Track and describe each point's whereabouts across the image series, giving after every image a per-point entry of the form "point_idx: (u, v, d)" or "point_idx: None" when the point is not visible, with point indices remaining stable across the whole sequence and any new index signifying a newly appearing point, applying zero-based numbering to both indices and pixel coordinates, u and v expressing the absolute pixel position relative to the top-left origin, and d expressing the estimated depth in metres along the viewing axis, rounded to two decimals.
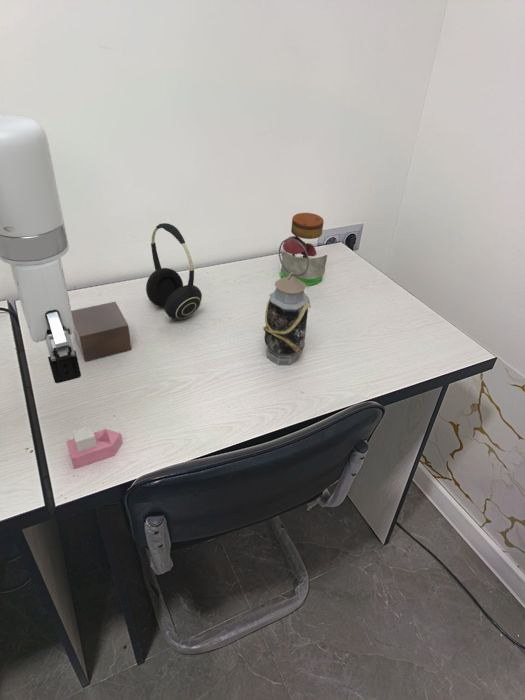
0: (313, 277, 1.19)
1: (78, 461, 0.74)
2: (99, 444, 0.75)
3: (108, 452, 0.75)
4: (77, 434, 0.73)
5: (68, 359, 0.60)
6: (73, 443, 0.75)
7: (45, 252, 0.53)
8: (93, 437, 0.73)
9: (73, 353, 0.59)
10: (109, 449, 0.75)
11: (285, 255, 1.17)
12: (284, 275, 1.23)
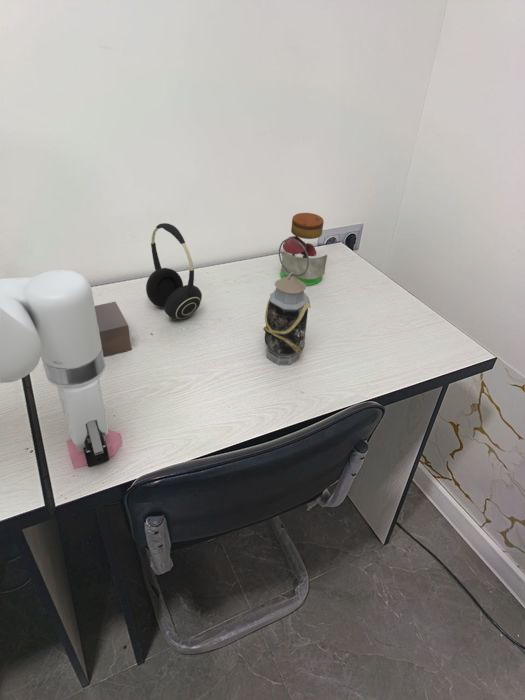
0: (313, 277, 1.19)
1: (78, 461, 0.74)
2: None
3: (108, 452, 0.75)
4: None
5: None
6: (73, 443, 0.75)
7: (87, 376, 0.63)
8: None
9: (104, 445, 0.72)
10: (109, 449, 0.75)
11: (285, 255, 1.17)
12: (284, 275, 1.23)
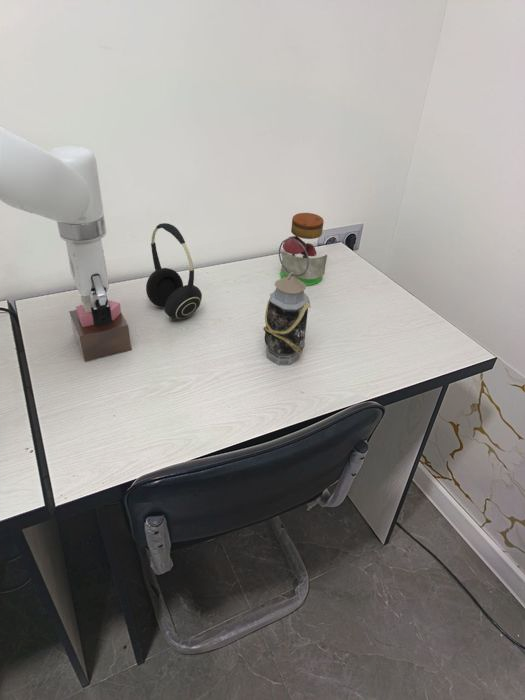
0: (313, 277, 1.19)
1: (85, 320, 0.91)
2: None
3: None
4: (84, 298, 0.91)
5: (104, 309, 0.87)
6: (81, 307, 0.93)
7: (92, 234, 0.81)
8: None
9: (108, 304, 0.87)
10: None
11: (285, 255, 1.17)
12: (284, 275, 1.23)
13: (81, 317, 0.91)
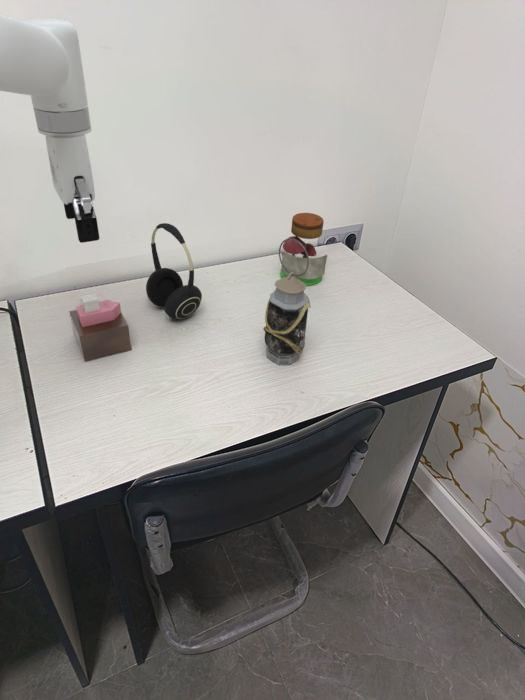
0: (313, 277, 1.19)
1: (85, 320, 0.91)
2: (102, 308, 0.93)
3: (109, 316, 0.93)
4: (84, 298, 0.91)
5: (90, 220, 0.77)
6: (81, 307, 0.93)
7: (75, 127, 0.71)
8: (97, 300, 0.91)
9: (94, 215, 0.77)
10: (110, 313, 0.93)
11: (285, 255, 1.17)
12: (284, 275, 1.23)
13: (81, 317, 0.91)
